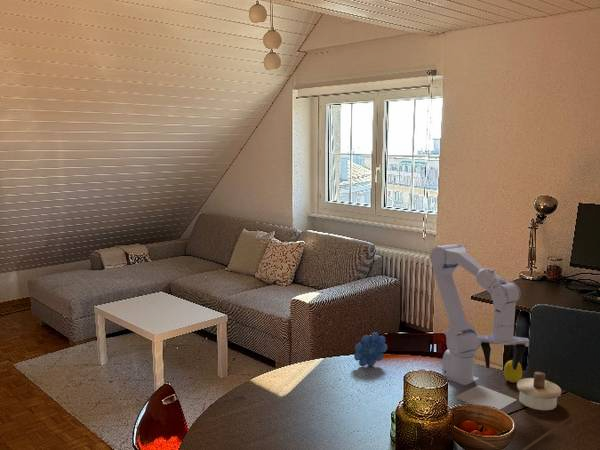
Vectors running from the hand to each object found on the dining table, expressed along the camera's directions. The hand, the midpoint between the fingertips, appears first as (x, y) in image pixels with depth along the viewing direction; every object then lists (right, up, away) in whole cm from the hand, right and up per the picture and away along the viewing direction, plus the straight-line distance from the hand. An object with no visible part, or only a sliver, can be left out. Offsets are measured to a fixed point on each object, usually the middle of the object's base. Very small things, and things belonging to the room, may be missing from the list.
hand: (500, 367), depth 169 cm
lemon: (+8, -8, +12) cm, 17 cm away
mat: (-4, -10, +1) cm, 11 cm away
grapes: (-36, -6, +26) cm, 44 cm away
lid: (+10, -6, -2) cm, 12 cm away
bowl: (+10, -10, -1) cm, 15 cm away
